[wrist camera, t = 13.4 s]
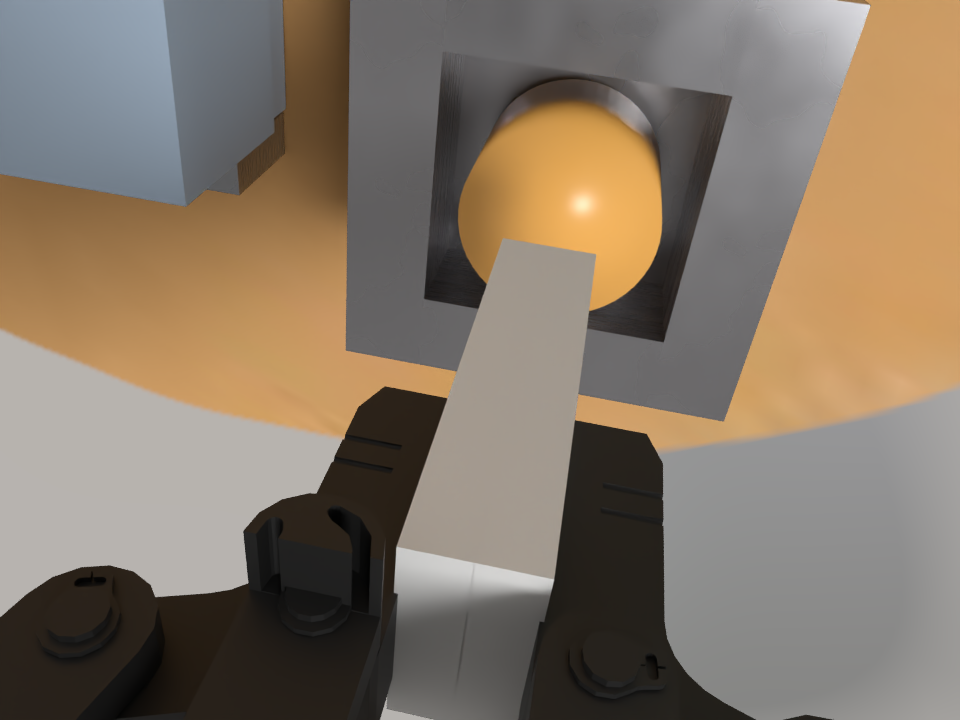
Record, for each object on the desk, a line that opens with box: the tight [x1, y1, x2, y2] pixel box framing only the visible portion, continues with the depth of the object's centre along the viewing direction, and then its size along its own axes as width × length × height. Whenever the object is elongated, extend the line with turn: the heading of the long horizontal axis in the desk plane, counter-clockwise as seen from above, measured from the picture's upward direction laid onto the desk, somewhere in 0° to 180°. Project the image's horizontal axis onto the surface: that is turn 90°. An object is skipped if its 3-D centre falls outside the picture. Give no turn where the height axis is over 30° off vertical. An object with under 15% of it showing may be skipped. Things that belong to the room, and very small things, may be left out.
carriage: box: [0, 0, 286, 207], centre depth 23 cm, size 6×7×8 cm
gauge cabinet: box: [346, 0, 871, 421], centre depth 23 cm, size 10×11×10 cm
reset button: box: [458, 79, 662, 311], centre depth 19 cm, size 4×4×4 cm
